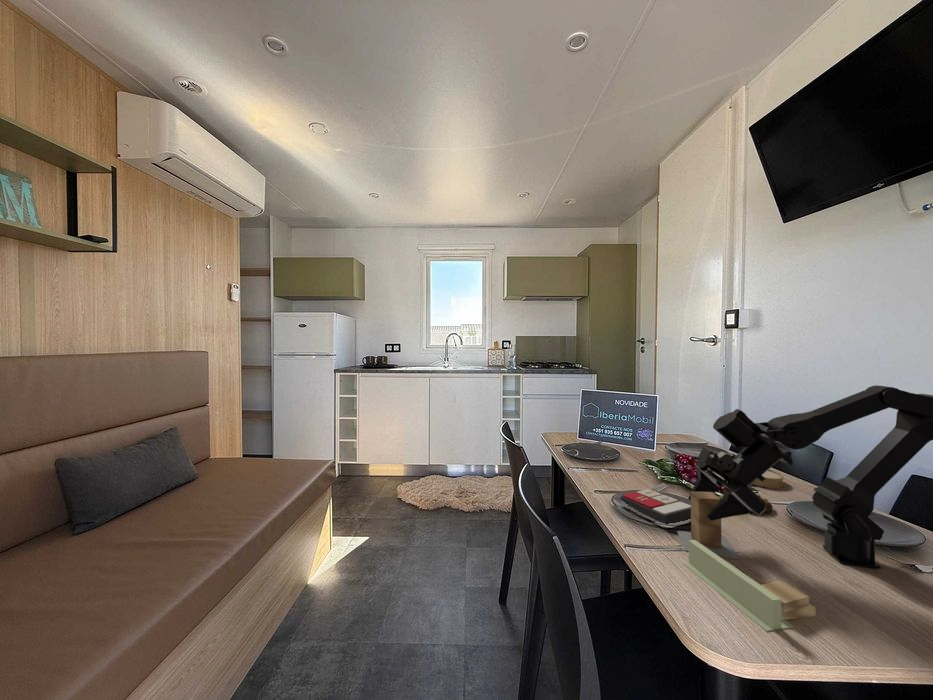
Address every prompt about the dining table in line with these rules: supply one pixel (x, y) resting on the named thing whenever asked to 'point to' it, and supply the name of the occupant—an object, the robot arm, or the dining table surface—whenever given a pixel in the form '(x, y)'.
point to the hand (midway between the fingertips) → (698, 509)
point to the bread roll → (768, 507)
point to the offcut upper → (787, 595)
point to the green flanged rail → (737, 588)
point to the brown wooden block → (705, 520)
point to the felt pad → (724, 552)
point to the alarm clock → (771, 480)
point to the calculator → (658, 506)
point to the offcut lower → (799, 613)
